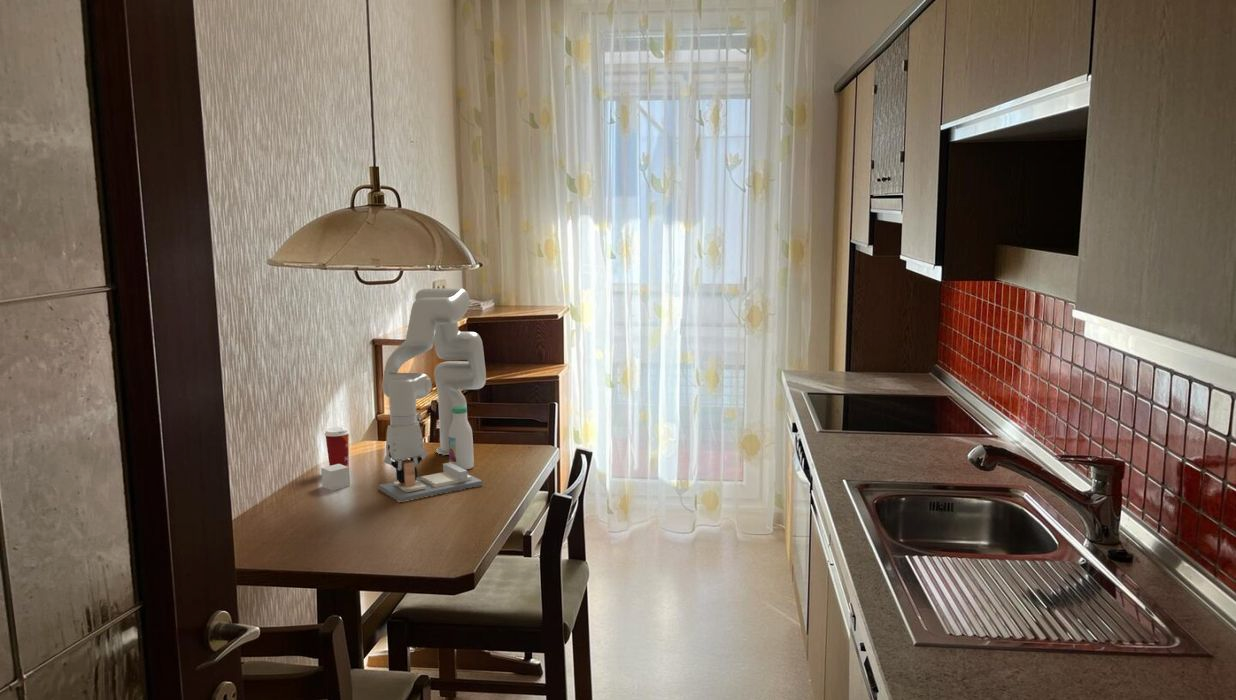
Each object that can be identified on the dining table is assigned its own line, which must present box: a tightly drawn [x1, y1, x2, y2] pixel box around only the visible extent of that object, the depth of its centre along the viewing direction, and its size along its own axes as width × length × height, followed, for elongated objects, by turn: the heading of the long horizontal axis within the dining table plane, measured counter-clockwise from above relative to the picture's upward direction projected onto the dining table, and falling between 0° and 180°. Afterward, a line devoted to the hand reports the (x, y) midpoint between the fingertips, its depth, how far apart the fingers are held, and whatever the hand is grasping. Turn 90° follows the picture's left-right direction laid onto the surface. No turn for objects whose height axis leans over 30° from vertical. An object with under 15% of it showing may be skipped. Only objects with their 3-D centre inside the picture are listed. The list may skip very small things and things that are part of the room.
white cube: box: [320, 464, 351, 491], centre depth 266 cm, size 6×6×6 cm
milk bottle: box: [448, 406, 475, 471], centre depth 283 cm, size 8×8×20 cm
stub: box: [393, 458, 426, 492], centre depth 259 cm, size 10×6×8 cm, turn 36°
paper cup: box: [324, 426, 351, 468], centre depth 281 cm, size 8×8×14 cm
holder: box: [378, 461, 483, 502], centre depth 263 cm, size 16×26×5 cm, turn 126°
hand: (407, 480), depth 259 cm, fingers closed on stub, 3 cm apart
